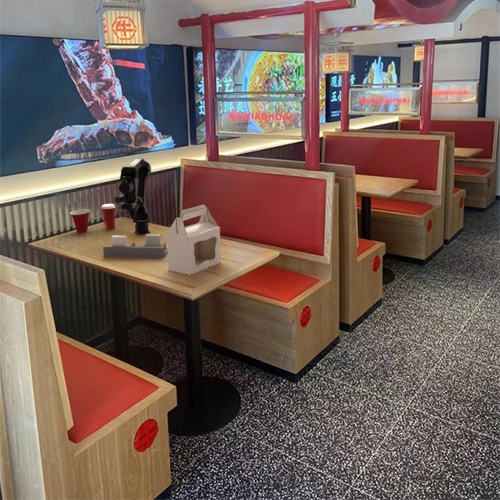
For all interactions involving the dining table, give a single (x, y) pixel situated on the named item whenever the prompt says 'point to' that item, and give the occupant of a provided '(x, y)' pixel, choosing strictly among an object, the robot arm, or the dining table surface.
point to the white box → (153, 240)
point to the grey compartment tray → (135, 251)
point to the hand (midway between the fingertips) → (132, 218)
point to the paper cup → (109, 216)
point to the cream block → (119, 240)
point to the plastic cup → (80, 220)
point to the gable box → (193, 242)
